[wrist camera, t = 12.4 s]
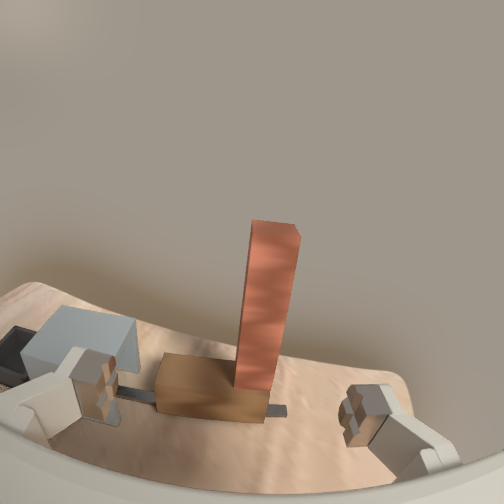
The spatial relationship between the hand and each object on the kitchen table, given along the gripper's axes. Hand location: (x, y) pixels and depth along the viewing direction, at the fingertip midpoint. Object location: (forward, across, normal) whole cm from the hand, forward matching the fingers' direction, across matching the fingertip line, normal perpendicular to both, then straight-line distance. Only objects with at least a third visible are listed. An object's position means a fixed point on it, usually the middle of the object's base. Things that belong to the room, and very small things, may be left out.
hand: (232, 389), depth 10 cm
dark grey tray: (+14, +23, +18) cm, 32 cm away
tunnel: (+14, +13, +18) cm, 26 cm away
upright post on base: (+14, 0, +16) cm, 21 cm away
